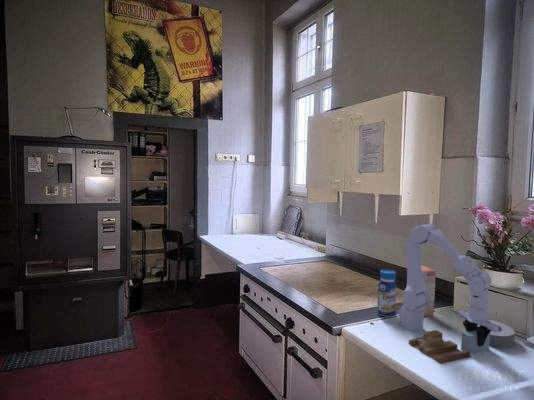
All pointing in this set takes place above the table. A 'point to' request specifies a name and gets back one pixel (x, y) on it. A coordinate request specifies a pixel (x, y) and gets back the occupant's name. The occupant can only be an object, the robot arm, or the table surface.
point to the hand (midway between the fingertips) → (476, 343)
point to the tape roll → (501, 336)
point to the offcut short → (432, 335)
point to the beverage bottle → (387, 294)
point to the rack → (441, 351)
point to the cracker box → (428, 289)
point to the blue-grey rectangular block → (473, 342)
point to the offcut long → (424, 342)
